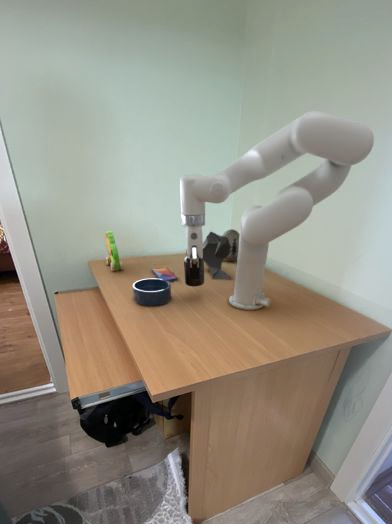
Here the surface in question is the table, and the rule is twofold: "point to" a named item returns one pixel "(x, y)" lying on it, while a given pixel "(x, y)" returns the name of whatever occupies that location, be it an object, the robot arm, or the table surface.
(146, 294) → the bowl
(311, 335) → the table surface
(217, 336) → the table surface
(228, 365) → the table surface
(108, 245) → the green toy figure
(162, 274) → the smartphone
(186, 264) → the supplement bottle
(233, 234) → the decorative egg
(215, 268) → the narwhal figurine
